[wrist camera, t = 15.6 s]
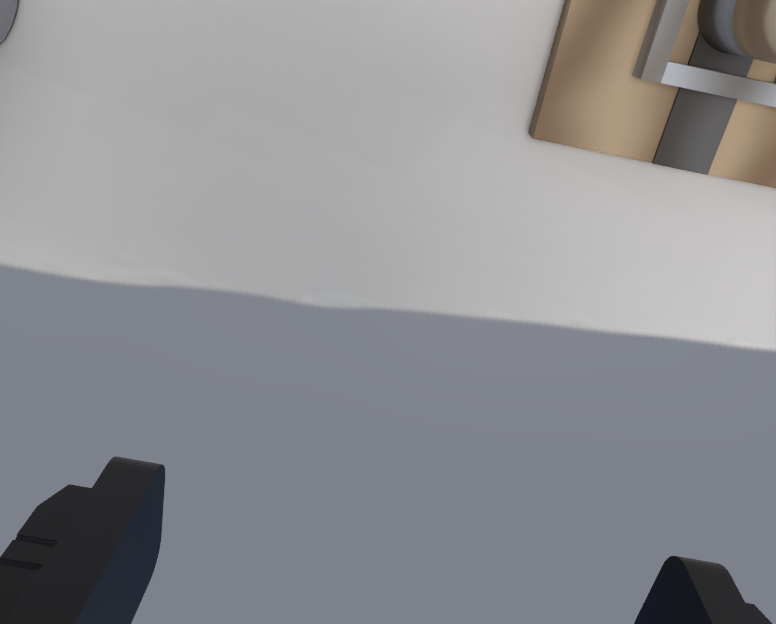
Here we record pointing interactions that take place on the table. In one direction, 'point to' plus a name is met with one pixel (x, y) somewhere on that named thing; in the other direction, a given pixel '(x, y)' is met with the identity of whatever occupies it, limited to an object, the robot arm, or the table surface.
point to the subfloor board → (657, 91)
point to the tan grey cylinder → (740, 27)
